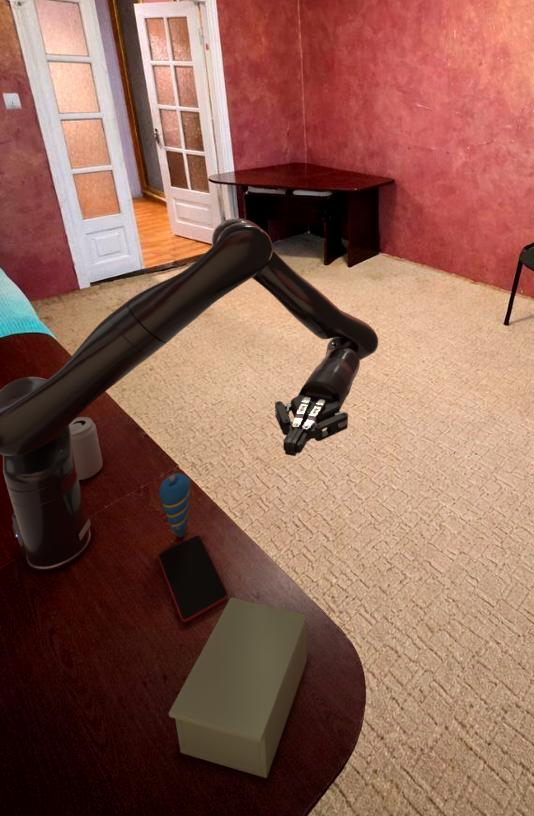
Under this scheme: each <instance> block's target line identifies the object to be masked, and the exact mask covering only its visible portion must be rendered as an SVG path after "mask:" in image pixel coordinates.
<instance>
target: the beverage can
mask: <svg viewBox="0 0 534 816" xmlns="http://www.w3.org/2000/svg"><path fill="white" fill-rule="evenodd" d="M69 426H70V431H71V437H72V448H73V456H74V461H75V466H76V471H77V475H78V480H79V481H83V480H87V479H90V478H92V477H93V476H95V475H96V474H97V473H99V471H101V469H102V468H103V465H104V463H103V457H102V453H101V447H100V441H99V435H98V432H97V431H98V430H97V426H96V423H94V421H93V419H92V418H90V417H88V416H80V417H79V416H78V417H76V418H75V419H74V420H73V421H72V422H71V423H70V424H69Z"/></svg>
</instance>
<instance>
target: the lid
mask: <svg viewBox="0 0 534 816" xmlns="http://www.w3.org/2000/svg"><path fill="white" fill-rule="evenodd" d="M307 616H308V615H306V614H302V613H299V612H294V611H290V610H285V609H281V608H278V607H274V606H269V605H265V604H261V603H256V602H251V601H248V600H243V599H240V598H235V597H230V598H229V600H228V602H227V604H226V605H225V607H224V609H223V611H222V612H221V614H220V616H219V618H218V620H217V622H216V624H215V626H214V628H213V629H212V632H211V634H210V635H209V637H208V638H207V641H206V642H205V644H204V646H203V648H202V649H201V652H200V654H199V655H198V657H197V659H196V662H195V663H194V665H193V667H192V668H191V670H190V672H189V674H188V676H187V678H186V680H185V681H184V683H183V685H182V687H181V688H180V691H179V693H178V695H177V696H176V698H175V700H174V702H173V704H172V705H171V708H170V710H169V711H168V717H169V718H172V719H174V720H175V719H179V720H182V721H186V722H189V723H193V724H196V725H200V726H203V727H207V728H210V729H214V730H217V731H221V732H224V733H228V734H231V735H235V736H238V737H242V738H246V739H249V740H253V741H256V742H260V743H261V742H262V739H263V737H264V734H265V731H266V729H267V726H268V723H269V720H270V718H271V715H272V712H273V710H274V707H275V704H276V701H277V699H278V696H279V693H280V690H281V688H282V685H283V682H284V680H285V677H286V674H287V671H288V669H289V666H290V663H291V661H292V658H293V655H294V652H295V650H296V647H297V644H298V642H299V639H300V636H301V633H302V631H303V628H304V625H305V622H306V620H307V619H308V617H307ZM307 621H308V620H307Z"/></svg>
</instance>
